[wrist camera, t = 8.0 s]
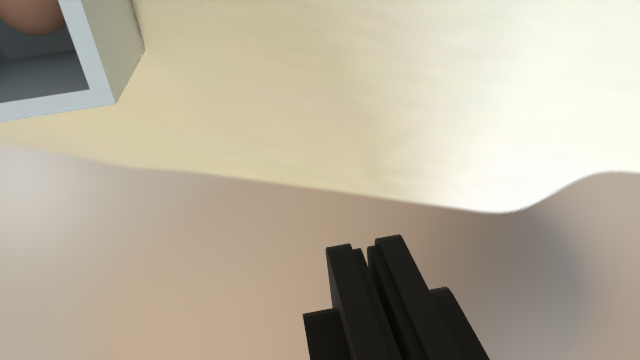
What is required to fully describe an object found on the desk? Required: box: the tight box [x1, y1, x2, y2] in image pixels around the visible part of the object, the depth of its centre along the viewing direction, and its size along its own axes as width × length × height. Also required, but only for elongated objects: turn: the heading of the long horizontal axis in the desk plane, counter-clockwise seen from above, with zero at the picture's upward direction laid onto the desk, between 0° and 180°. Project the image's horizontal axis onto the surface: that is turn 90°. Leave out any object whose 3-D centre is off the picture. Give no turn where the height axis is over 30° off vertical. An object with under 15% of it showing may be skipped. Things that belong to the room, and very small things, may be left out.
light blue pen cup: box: [0, 0, 145, 122], centre depth 19 cm, size 7×7×8 cm
